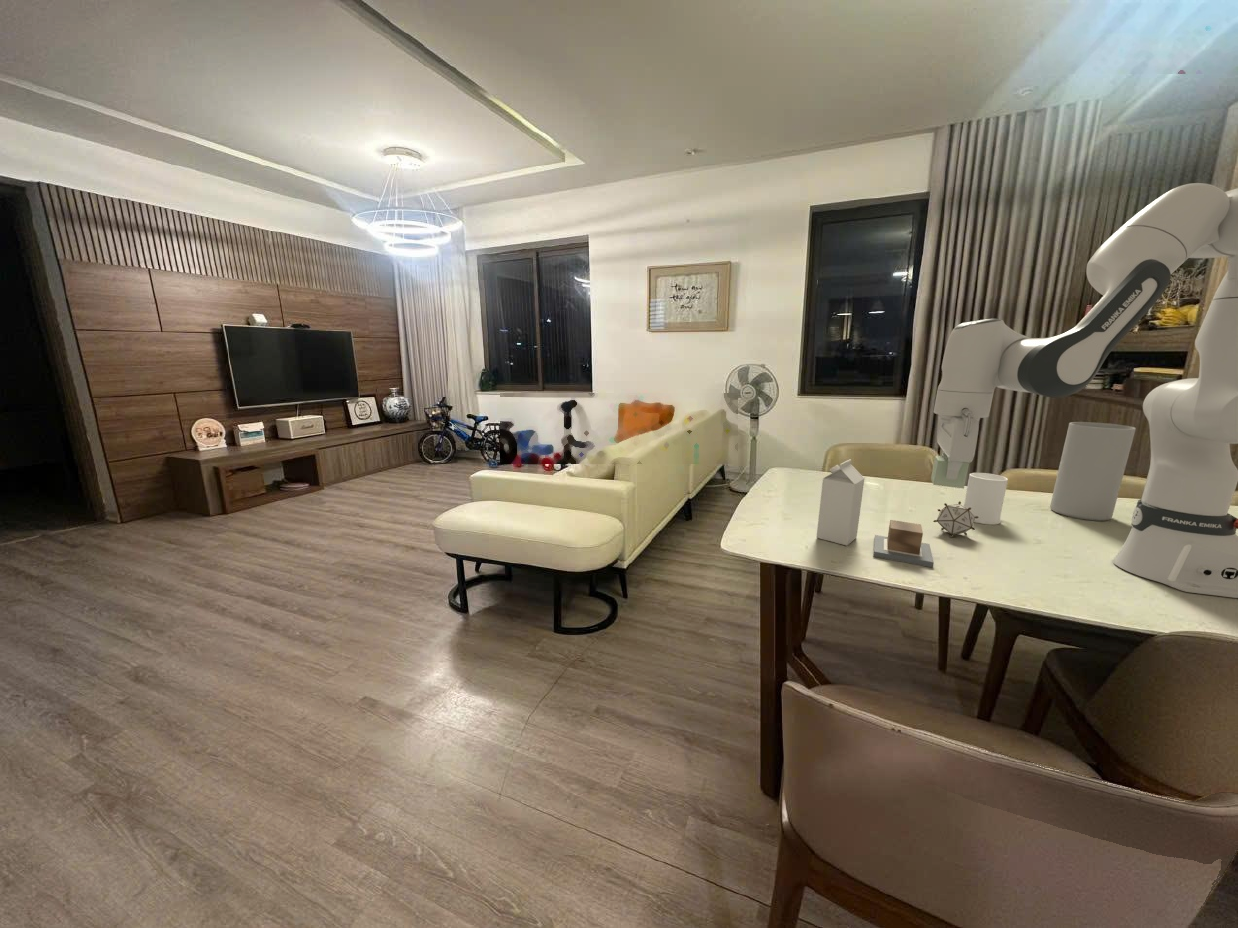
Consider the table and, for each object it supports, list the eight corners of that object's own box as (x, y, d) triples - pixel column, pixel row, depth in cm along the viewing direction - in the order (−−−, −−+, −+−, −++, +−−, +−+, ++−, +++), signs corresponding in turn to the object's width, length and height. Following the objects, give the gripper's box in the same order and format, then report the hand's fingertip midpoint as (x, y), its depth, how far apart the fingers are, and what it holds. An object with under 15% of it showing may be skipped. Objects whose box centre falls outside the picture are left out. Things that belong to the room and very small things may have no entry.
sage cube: (959, 482, 95) (964, 458, 94) (963, 488, 91) (969, 463, 90) (930, 479, 97) (935, 455, 96) (933, 484, 93) (938, 460, 92)
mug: (985, 511, 132) (994, 470, 129) (1017, 522, 124) (1027, 478, 121) (952, 515, 129) (960, 473, 126) (983, 526, 121) (992, 481, 118)
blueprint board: (928, 548, 107) (929, 543, 106) (932, 567, 97) (933, 561, 97) (874, 539, 112) (874, 534, 111) (873, 556, 102) (874, 551, 102)
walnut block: (917, 545, 105) (921, 524, 104) (919, 555, 100) (922, 533, 99) (887, 540, 108) (890, 519, 107) (887, 549, 103) (890, 528, 102)
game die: (959, 550, 115) (992, 529, 107) (926, 536, 116) (955, 514, 108) (955, 523, 121) (985, 501, 113) (923, 510, 121) (951, 487, 114)
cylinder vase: (1038, 505, 137) (1057, 421, 131) (1086, 507, 136) (1107, 422, 130) (1072, 520, 125) (1094, 428, 119) (1125, 523, 124) (1150, 429, 118)
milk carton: (856, 538, 113) (866, 461, 108) (847, 546, 108) (857, 466, 103) (826, 530, 117) (835, 456, 113) (816, 538, 112) (824, 461, 108)
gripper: (994, 413, 80) (977, 490, 83) (972, 402, 98) (959, 466, 101) (949, 410, 83) (935, 484, 86) (936, 400, 100) (925, 462, 104)
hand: (948, 474), depth 94 cm, fingers closed on sage cube, 5 cm apart
